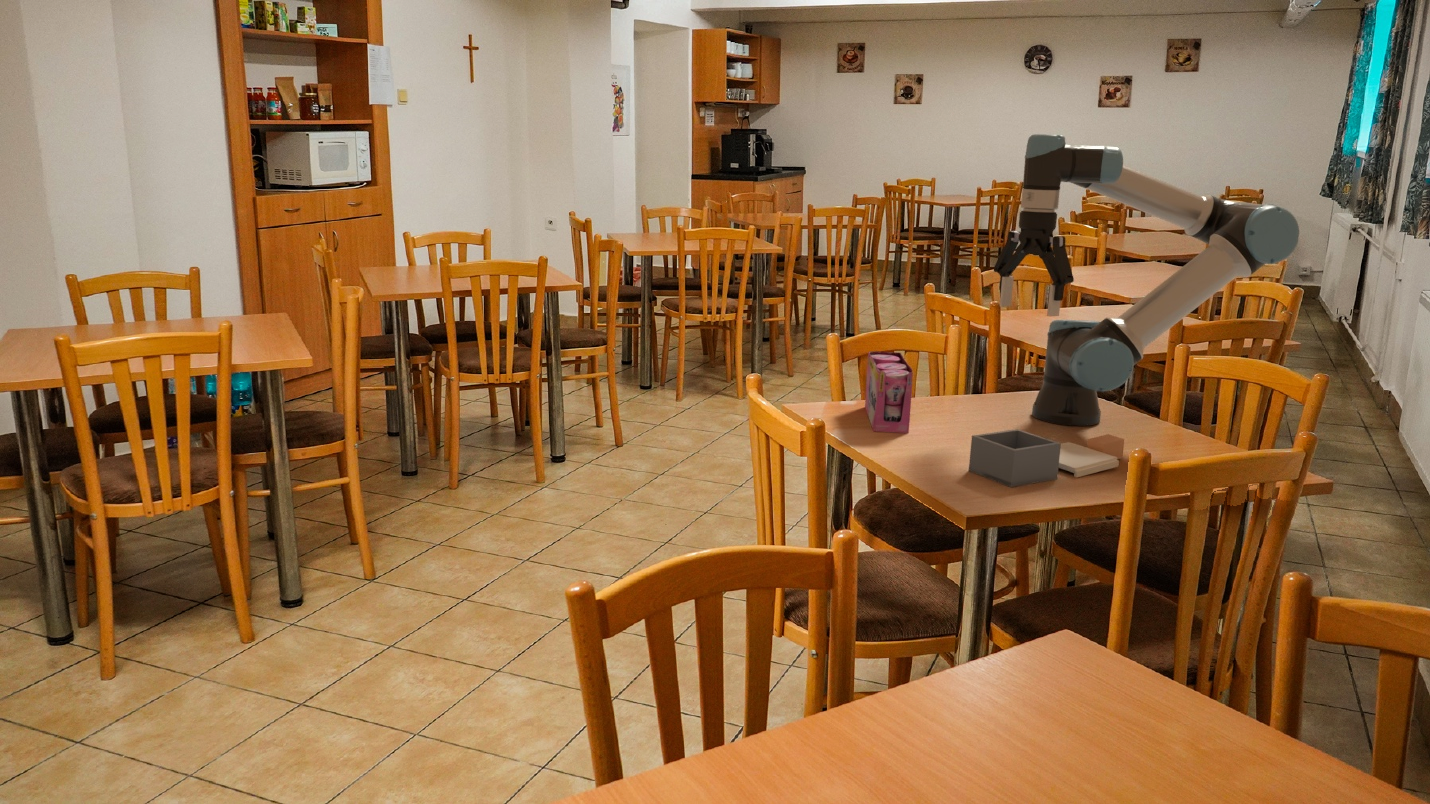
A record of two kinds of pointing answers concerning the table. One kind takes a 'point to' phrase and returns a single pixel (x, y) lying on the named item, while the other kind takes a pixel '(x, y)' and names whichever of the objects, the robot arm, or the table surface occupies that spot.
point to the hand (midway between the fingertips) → (1028, 311)
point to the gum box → (888, 392)
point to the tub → (1014, 457)
